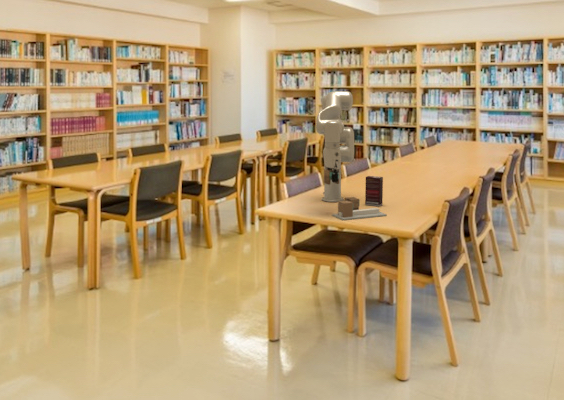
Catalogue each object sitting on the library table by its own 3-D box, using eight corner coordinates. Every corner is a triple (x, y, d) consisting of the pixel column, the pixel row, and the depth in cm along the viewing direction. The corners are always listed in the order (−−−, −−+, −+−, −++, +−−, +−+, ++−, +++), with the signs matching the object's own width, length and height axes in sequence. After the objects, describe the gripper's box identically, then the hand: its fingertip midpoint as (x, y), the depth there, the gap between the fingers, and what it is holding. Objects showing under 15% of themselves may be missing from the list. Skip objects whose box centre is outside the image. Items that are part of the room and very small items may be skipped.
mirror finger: (344, 210, 308) (344, 197, 307) (354, 209, 310) (354, 196, 309) (350, 212, 303) (350, 199, 301) (359, 211, 305) (360, 198, 304)
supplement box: (382, 205, 322) (383, 176, 319) (379, 206, 318) (380, 177, 315) (368, 203, 326) (368, 175, 323) (364, 205, 322) (365, 176, 319)
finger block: (329, 184, 295) (329, 171, 294) (324, 183, 300) (324, 169, 299) (339, 183, 298) (339, 170, 296) (334, 182, 303) (334, 168, 301)
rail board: (331, 215, 296) (331, 200, 295) (373, 211, 306) (374, 196, 304) (343, 220, 286) (343, 204, 284) (386, 215, 295) (387, 200, 294)
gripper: (347, 147, 289) (346, 183, 292) (331, 143, 304) (330, 177, 308) (333, 147, 286) (333, 184, 290) (318, 144, 301) (317, 178, 305)
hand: (331, 180), depth 299 cm, fingers closed on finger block, 5 cm apart
